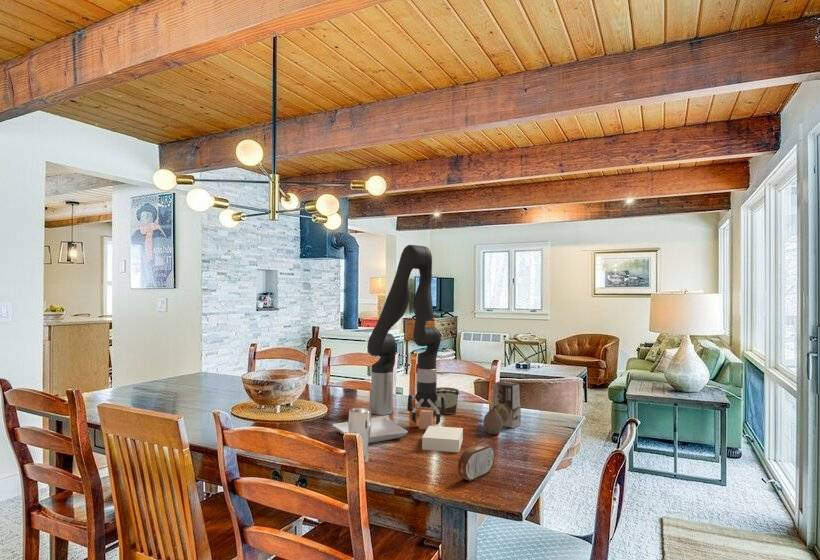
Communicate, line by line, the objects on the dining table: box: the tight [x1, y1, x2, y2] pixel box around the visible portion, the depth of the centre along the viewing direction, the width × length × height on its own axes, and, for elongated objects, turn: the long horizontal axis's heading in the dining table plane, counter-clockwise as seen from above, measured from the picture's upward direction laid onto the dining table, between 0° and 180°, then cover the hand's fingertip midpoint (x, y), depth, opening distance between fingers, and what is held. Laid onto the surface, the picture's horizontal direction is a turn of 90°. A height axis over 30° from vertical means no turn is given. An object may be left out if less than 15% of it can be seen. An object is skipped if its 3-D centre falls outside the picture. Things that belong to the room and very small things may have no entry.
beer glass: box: [347, 407, 372, 463], centre depth 150 cm, size 7×7×15 cm
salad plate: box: [332, 416, 408, 444], centre depth 175 cm, size 21×21×3 cm
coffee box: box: [492, 380, 522, 429], centre depth 192 cm, size 9×6×16 cm
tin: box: [457, 442, 496, 482], centre depth 138 cm, size 15×3×8 cm, turn 137°
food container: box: [432, 386, 460, 415], centre depth 211 cm, size 12×6×10 cm, turn 84°
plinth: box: [421, 425, 464, 453], centre depth 166 cm, size 12×14×4 cm
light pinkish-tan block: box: [418, 409, 434, 430], centre depth 186 cm, size 4×4×6 cm
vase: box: [482, 407, 503, 435], centre depth 180 cm, size 7×7×9 cm
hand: (426, 423), depth 186 cm, fingers open, 8 cm apart
